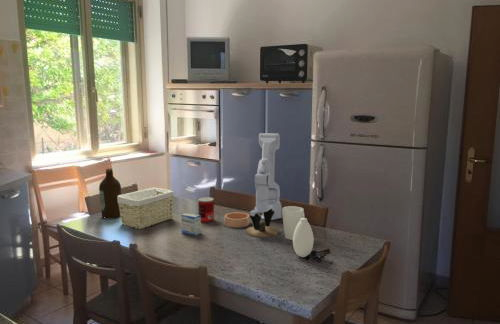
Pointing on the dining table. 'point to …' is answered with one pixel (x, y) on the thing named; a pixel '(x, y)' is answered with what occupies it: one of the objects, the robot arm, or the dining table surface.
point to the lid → (262, 230)
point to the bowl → (237, 219)
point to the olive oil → (109, 195)
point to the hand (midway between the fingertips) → (262, 227)
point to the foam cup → (291, 219)
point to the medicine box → (191, 224)
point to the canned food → (206, 209)
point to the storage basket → (146, 207)
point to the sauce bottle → (303, 238)
